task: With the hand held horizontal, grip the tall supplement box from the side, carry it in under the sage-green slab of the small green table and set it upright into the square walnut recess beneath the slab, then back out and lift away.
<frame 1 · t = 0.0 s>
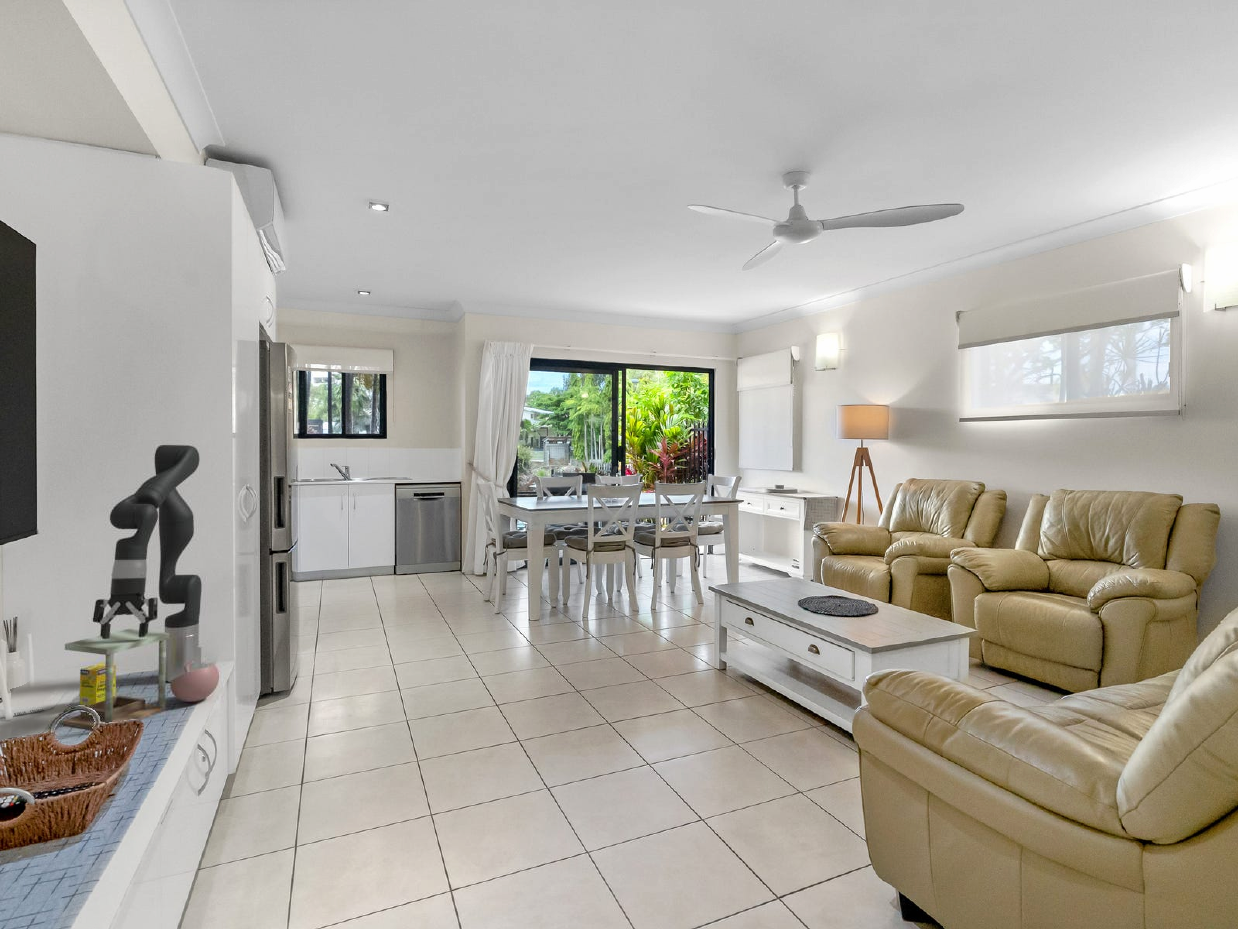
hand: (123, 637, 175), 22 cm above the tv stand, tool pointing down, fingers open, 8 cm apart
small green table: (113, 716, 178), on the tv stand
supplement box: (97, 705, 186), on the tv stand
mortar and pestle: (194, 701, 191), on the tv stand
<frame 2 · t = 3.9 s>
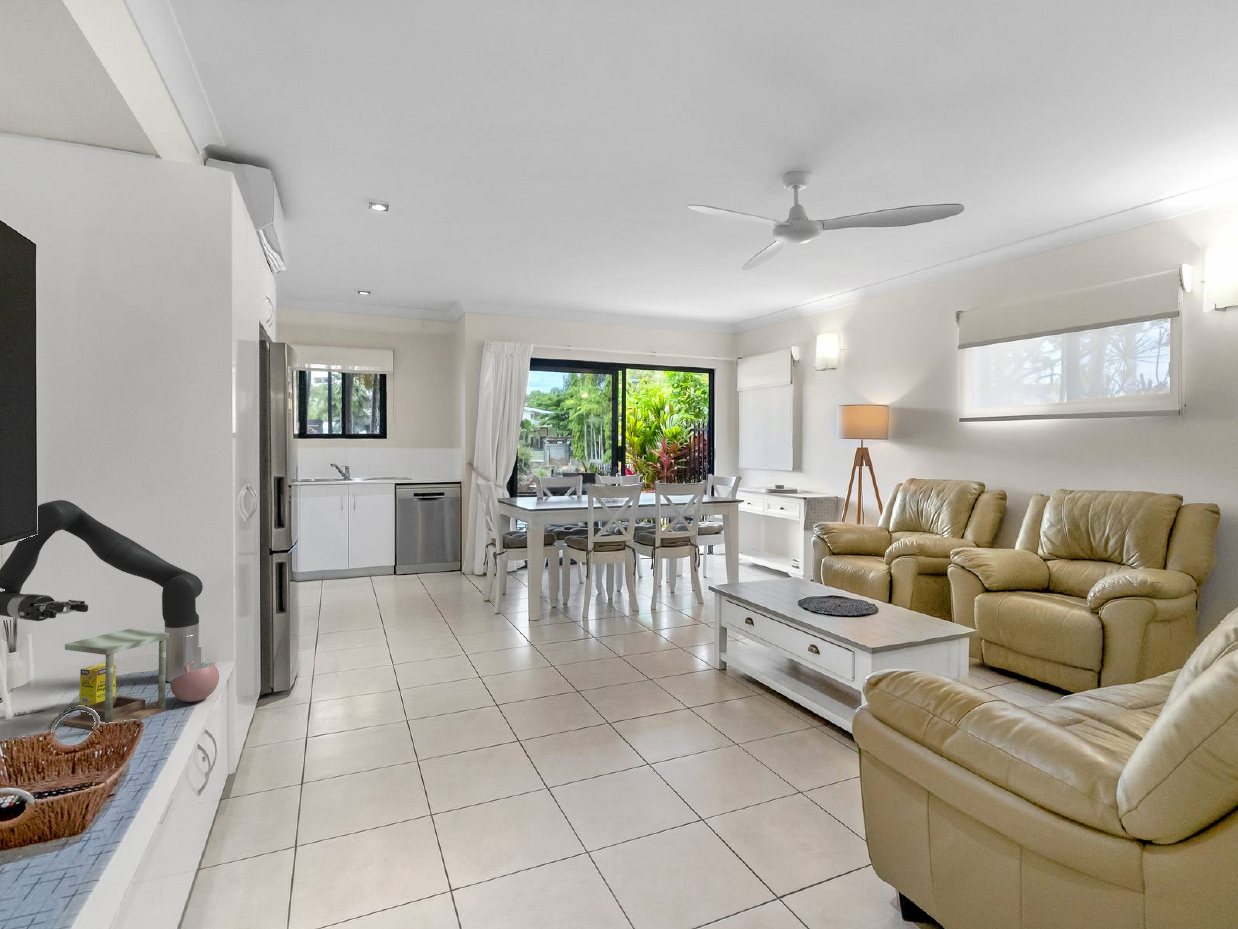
hand: (71, 611, 190), 26 cm above the tv stand, tool horizontal, fingers open, 8 cm apart
nothing on the tv stand moved.
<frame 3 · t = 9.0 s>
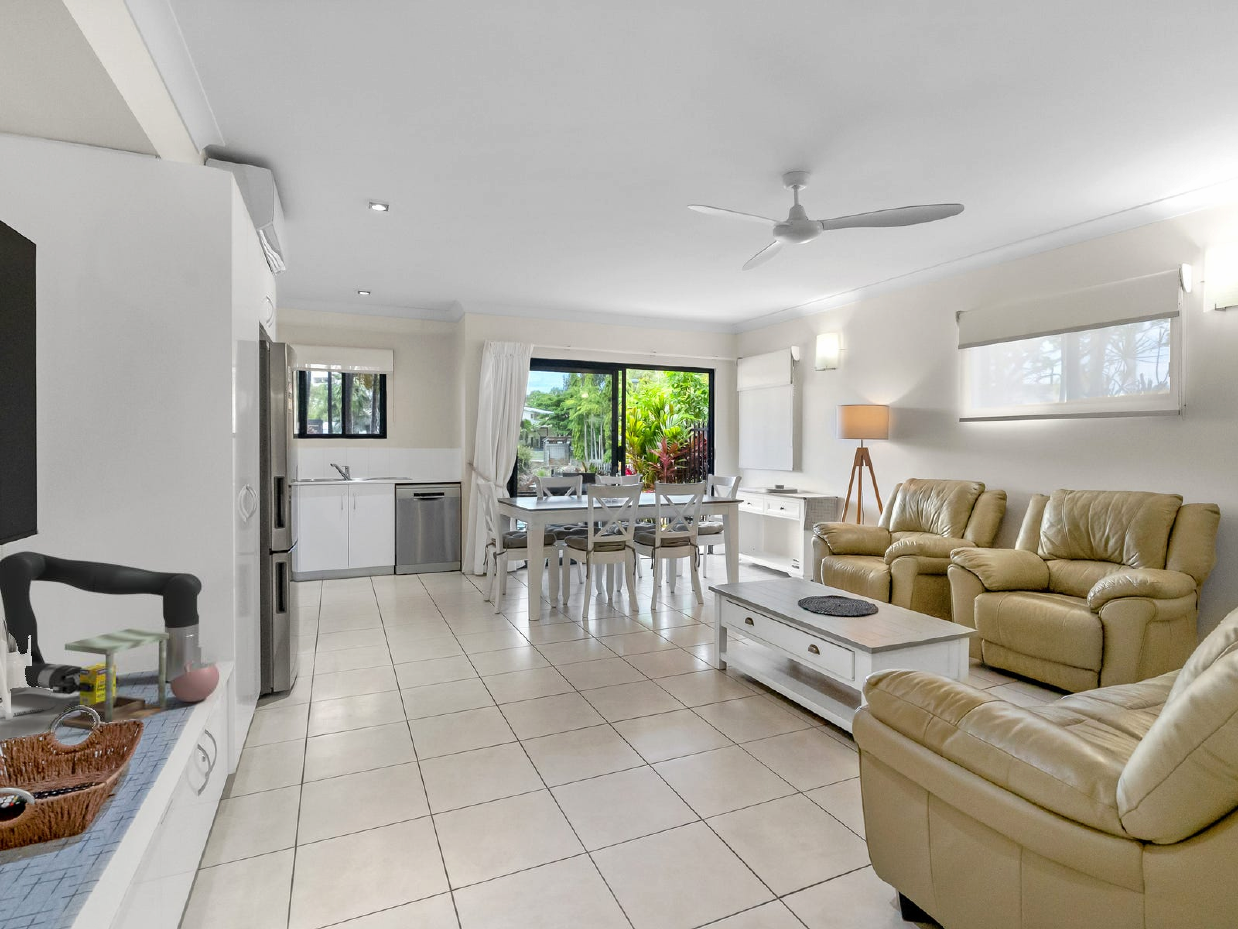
hand: (104, 684, 186), 6 cm above the tv stand, tool horizontal, fingers closed on supplement box, 6 cm apart
supplement box: (97, 705, 186), on the tv stand, touching gripper
everything else where it was.
when the fingers open (8 cm above the tv stand, at t = 14.8 s): supplement box drops 1 cm, resting on small green table.
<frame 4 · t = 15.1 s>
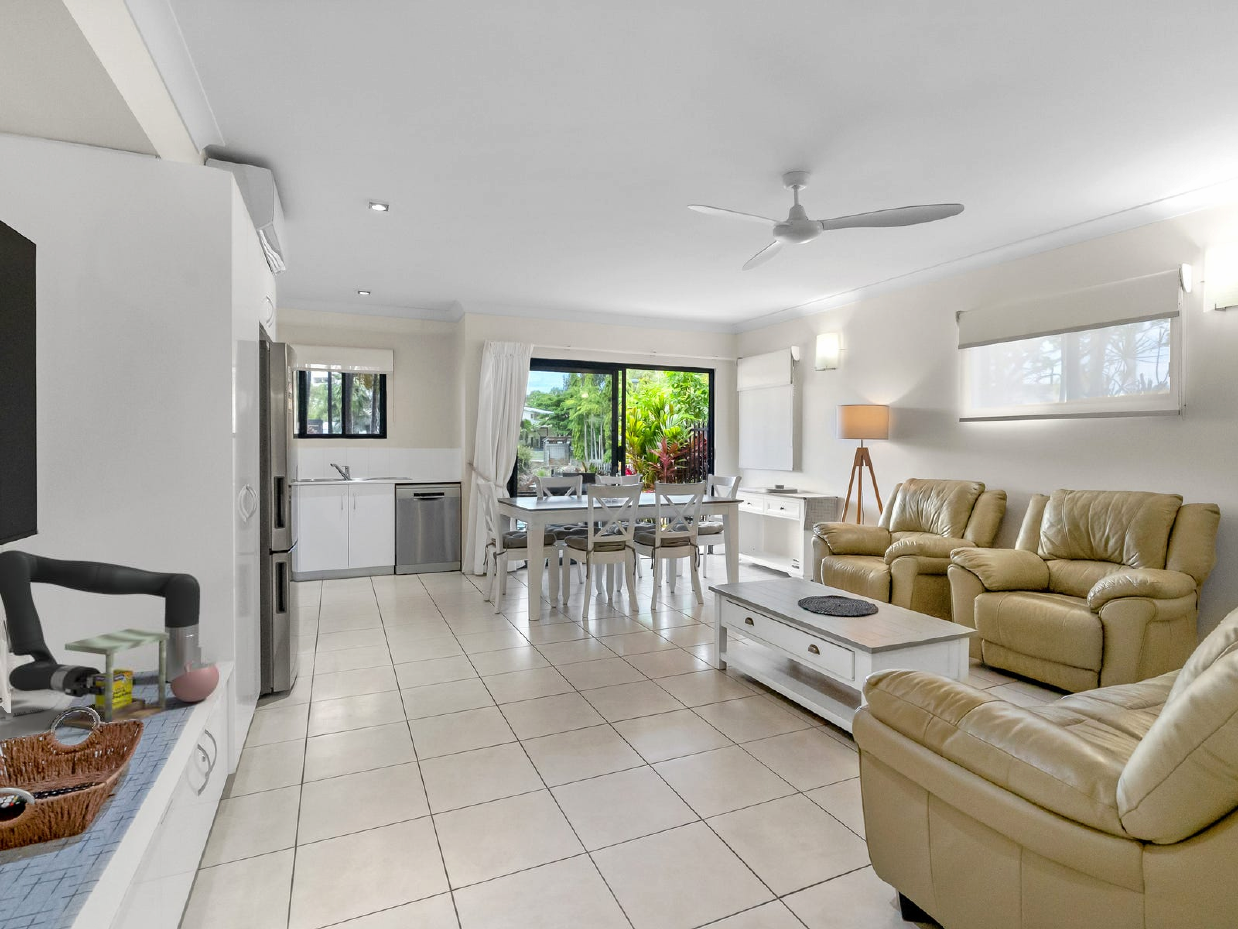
hand: (119, 686, 177), 8 cm above the tv stand, tool horizontal, fingers open, 8 cm apart
supplement box: (113, 713, 178), point 1 cm above the tv stand, touching small green table
everything else where it was.
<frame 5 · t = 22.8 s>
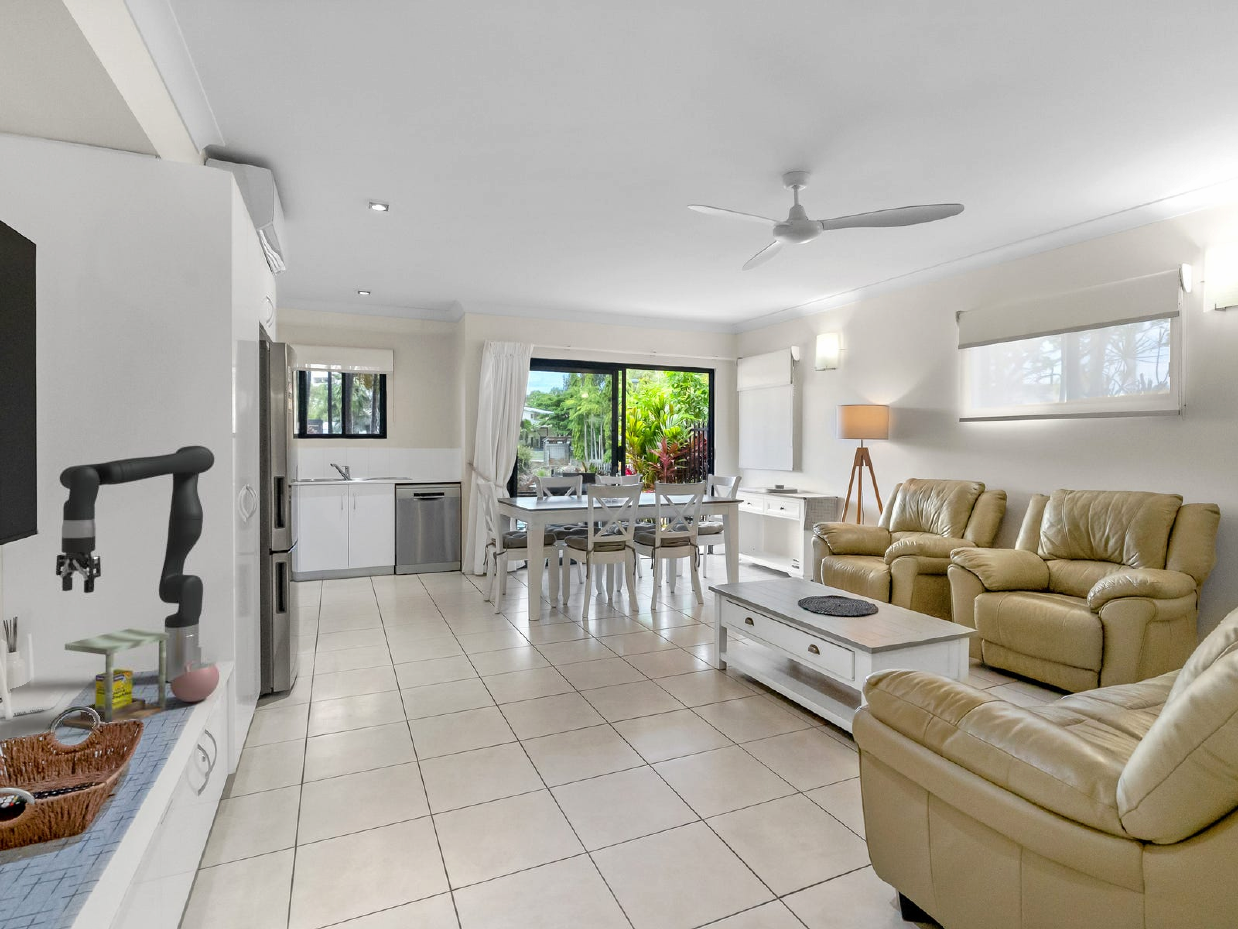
hand: (77, 591, 187), 32 cm above the tv stand, tool pointing down, fingers open, 8 cm apart
nothing on the tv stand moved.
at the end: supplement box 0.1 cm off-centre on the small green table, point 0.8 cm above the small green table's base; supplement box tilted 0°; the gripper is holding nothing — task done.
